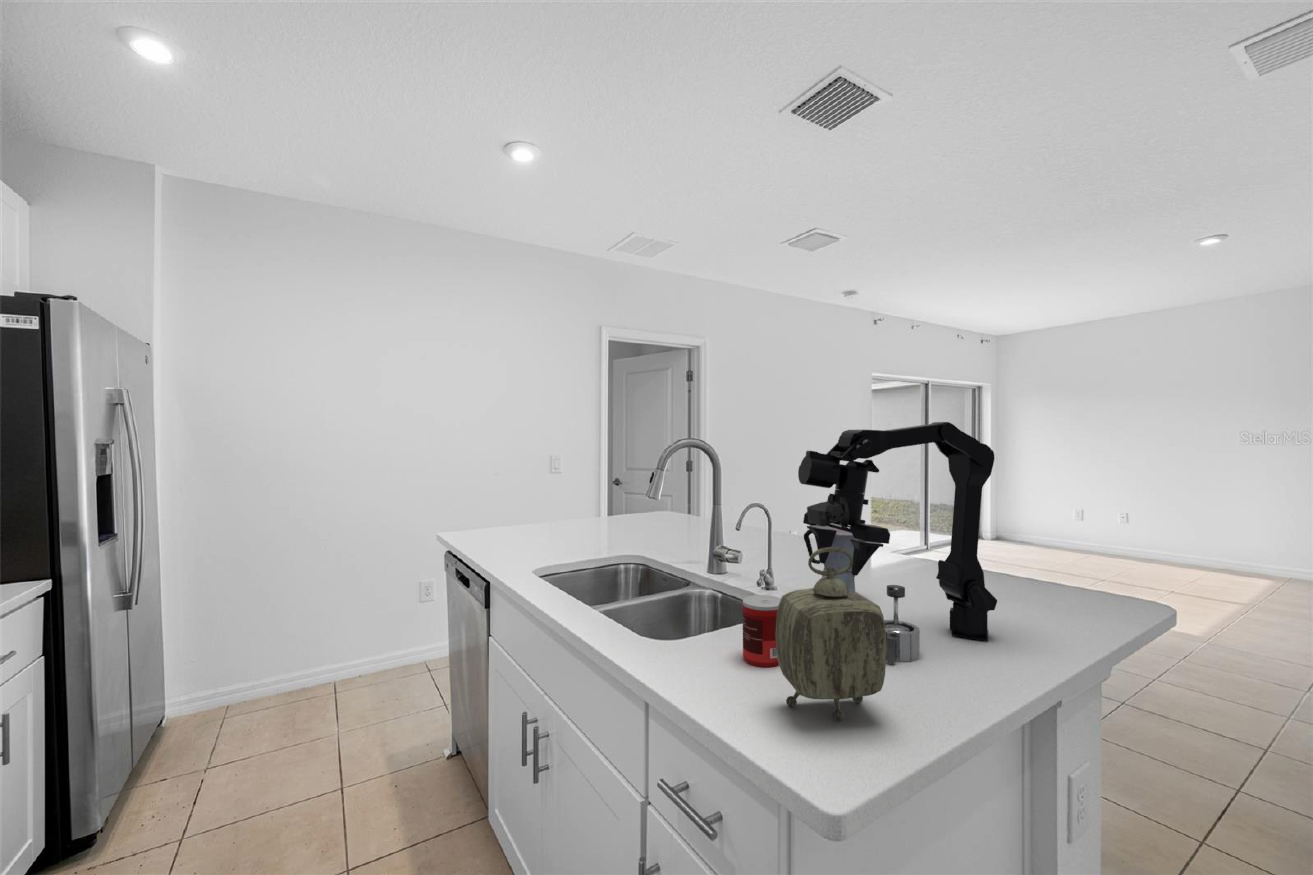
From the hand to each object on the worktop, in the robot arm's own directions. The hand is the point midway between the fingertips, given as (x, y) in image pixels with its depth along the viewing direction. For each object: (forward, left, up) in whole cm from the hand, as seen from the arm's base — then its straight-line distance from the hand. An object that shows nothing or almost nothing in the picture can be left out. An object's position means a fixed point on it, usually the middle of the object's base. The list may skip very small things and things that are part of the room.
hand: (837, 569), depth 116 cm
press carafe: (-11, +1, -15) cm, 18 cm away
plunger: (-11, 0, -11) cm, 15 cm away
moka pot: (+7, -30, -15) cm, 34 cm away
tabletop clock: (-6, +30, -15) cm, 34 cm away
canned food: (+10, +15, -15) cm, 23 cm away
